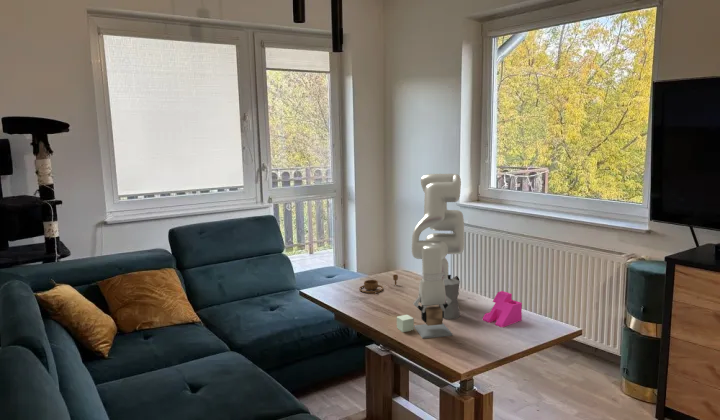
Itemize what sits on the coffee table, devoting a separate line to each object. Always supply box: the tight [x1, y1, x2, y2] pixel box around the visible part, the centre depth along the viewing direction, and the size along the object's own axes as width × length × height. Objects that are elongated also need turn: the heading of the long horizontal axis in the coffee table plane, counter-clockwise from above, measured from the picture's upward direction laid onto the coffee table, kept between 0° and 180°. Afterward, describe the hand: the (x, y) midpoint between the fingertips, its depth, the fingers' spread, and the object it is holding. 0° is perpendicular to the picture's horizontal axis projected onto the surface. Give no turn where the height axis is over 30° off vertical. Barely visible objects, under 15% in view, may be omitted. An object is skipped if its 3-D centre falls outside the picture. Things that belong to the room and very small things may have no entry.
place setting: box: [358, 274, 399, 294], centre depth 263 cm, size 18×20×6 cm
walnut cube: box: [425, 305, 443, 326], centre depth 206 cm, size 6×6×6 cm
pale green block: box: [396, 314, 415, 333], centre depth 210 cm, size 5×5×5 cm
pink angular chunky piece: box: [482, 290, 523, 328], centre depth 215 cm, size 12×10×10 cm
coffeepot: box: [443, 274, 461, 320], centre depth 224 cm, size 15×9×18 cm, turn 144°
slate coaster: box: [414, 322, 453, 339], centre depth 207 cm, size 12×12×1 cm
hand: (432, 320), depth 206 cm, fingers closed on walnut cube, 6 cm apart
